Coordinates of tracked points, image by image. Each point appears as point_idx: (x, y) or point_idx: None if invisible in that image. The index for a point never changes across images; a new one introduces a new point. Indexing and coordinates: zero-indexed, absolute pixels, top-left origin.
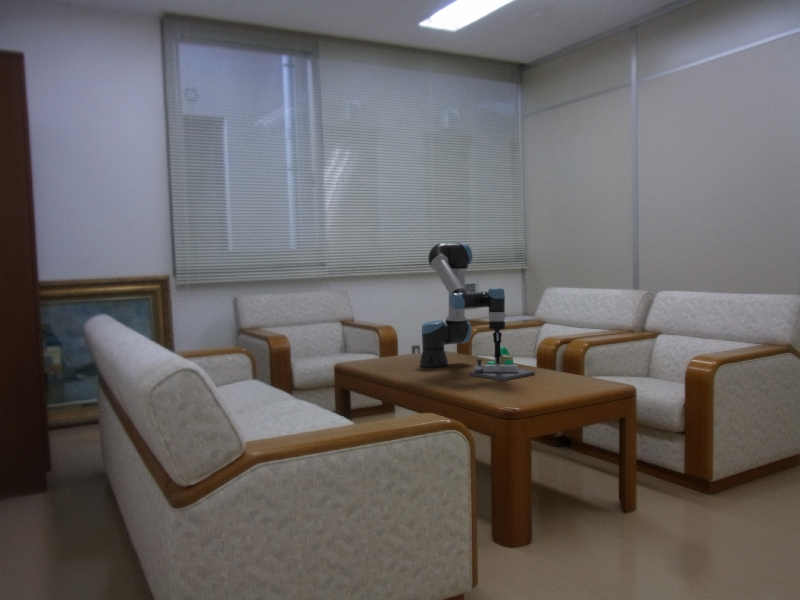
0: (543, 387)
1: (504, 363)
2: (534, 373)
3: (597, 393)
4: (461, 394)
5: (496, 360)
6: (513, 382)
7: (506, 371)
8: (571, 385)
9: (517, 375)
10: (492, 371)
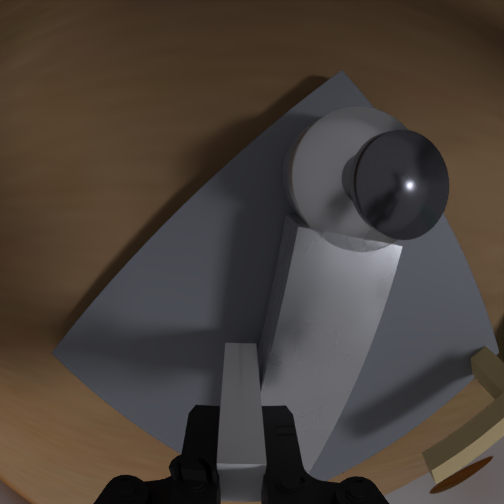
0: (7, 438)
1: (484, 387)
2: None
3: (9, 485)
4: None
5: (184, 436)
6: (43, 384)
7: None
8: (67, 498)
9: (169, 443)
10: (268, 311)
